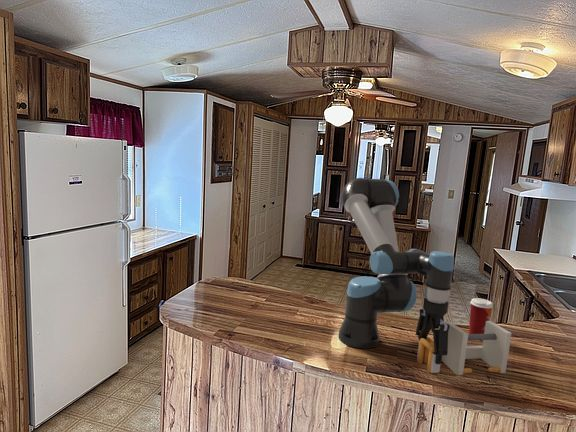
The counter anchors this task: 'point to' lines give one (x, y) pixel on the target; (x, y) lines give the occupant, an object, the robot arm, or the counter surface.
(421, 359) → the cord hank
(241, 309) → the counter surface
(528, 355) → the counter surface
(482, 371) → the counter surface
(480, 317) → the coffee cup
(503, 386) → the counter surface
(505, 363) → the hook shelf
